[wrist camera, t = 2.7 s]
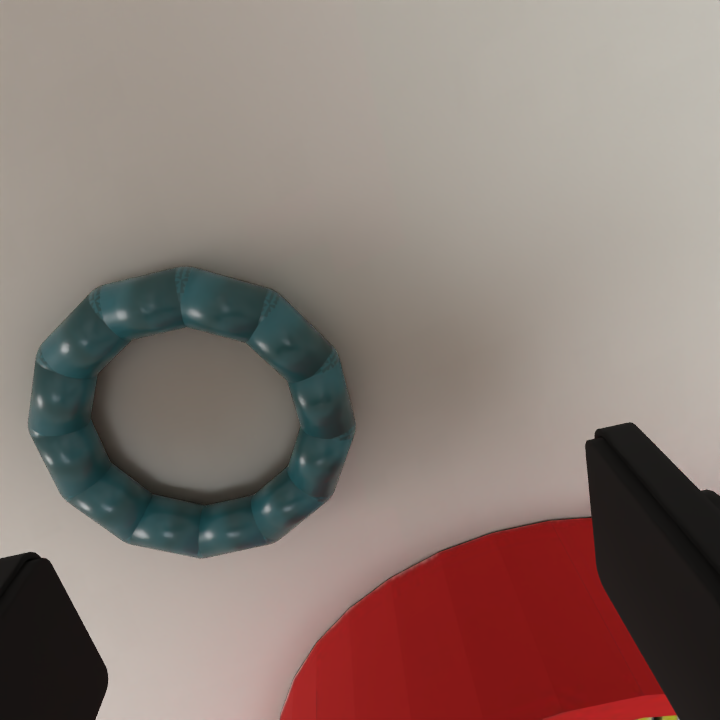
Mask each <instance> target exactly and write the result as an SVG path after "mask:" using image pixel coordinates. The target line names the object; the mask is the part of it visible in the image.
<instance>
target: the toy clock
mask: <svg viewBox="0 0 720 720" xmlns="http://www.w3.org/2000/svg"><path fill="white" fill-rule="evenodd" d="M280 720H679V718H678V716H677V715H676V713H675V711H674V709H673V708H672V706H671V704H670V702H669V701H668V699H667V697H666V695H665V694H664V692H663V690H662V689H661V687H660V685H659V683H658V682H657V680H656V678H655V676H654V675H653V673H652V671H651V670H650V668H649V666H648V664H647V663H646V661H645V659H644V657H643V656H642V654H641V652H640V650H639V649H638V647H637V645H636V644H635V642H634V640H633V638H632V637H631V635H630V633H629V631H628V630H627V628H626V626H625V624H624V623H623V621H622V619H621V618H620V616H619V614H618V612H617V611H616V609H615V607H614V605H613V604H612V602H611V600H610V598H609V597H608V595H607V593H606V592H605V590H604V588H603V586H602V584H601V581H600V578H599V575H598V572H597V567H596V558H595V547H594V536H593V526H592V518H580V519H566V520H552V521H546V522H541V523H536V524H532V525H527V526H522V527H518V528H513V529H508V530H504V531H499V532H494V533H491V534H488V535H485V536H483V537H480V538H477V539H474V540H472V541H469V542H466V543H463V544H461V545H458V546H455V547H452V548H449V549H447V550H444V551H441V552H439V553H437V554H435V555H433V556H431V557H429V558H427V559H425V560H424V561H422V562H420V563H418V564H416V565H414V566H412V567H410V568H408V569H407V570H405V571H403V572H401V573H399V574H397V575H395V576H393V577H392V578H390V579H388V580H387V581H386V582H384V583H383V584H382V585H380V586H379V587H378V588H376V589H375V590H374V591H372V592H371V593H370V594H368V595H367V596H366V597H364V598H363V599H362V600H360V601H359V602H358V603H356V604H355V605H354V606H352V607H351V608H350V609H348V610H347V612H346V613H345V614H344V615H343V616H342V617H341V618H340V619H339V620H338V621H337V622H336V623H335V624H334V625H333V626H332V627H331V628H330V629H329V630H328V631H327V632H326V633H325V635H324V636H323V637H322V638H321V639H320V640H319V641H318V642H317V643H316V645H315V646H314V648H313V649H312V651H311V652H310V654H309V655H308V657H307V658H306V660H305V662H304V663H303V665H302V666H301V668H300V669H299V671H298V672H297V674H296V675H295V677H294V679H293V682H292V684H291V687H290V690H289V692H288V695H287V698H286V700H285V703H284V706H283V708H282V711H281V715H280Z"/></svg>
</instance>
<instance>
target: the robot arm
mask: <svg viewBox="0 0 720 720" xmlns="http://www.w3.org/2000/svg"><path fill="white" fill-rule="evenodd" d="M585 450H586V461H587V472H588V483H589V493H590V504H591V515H592V526H593V536H594V547H595V558H596V567H597V572H598V575H599V578H600V581H601V584H602V586H603V588H604V590H605V592H606V593H607V595H608V597H609V598H610V600H611V602H612V604H613V605H614V607H615V609H616V611H617V612H618V614H619V616H620V618H621V619H622V621H623V623H624V624H625V626H626V628H627V630H628V631H629V633H630V635H631V637H632V638H633V640H634V642H635V644H636V645H637V647H638V649H639V650H640V652H641V654H642V656H643V657H644V659H645V661H646V663H647V664H648V666H649V668H650V670H651V671H652V673H653V675H654V676H655V678H656V680H657V682H658V683H659V685H660V687H661V689H662V690H663V692H664V694H665V695H666V697H667V699H668V701H669V702H670V704H671V706H672V708H673V709H674V711H675V713H676V715H677V716H678V718H679V720H720V496H719V495H718V494H716V493H715V492H714V491H710V490H703V491H700V490H699V489H698V488H697V487H696V486H695V485H694V484H693V483H692V482H691V481H690V480H689V479H688V478H687V477H686V476H685V475H684V474H683V473H682V472H681V471H680V470H679V469H678V467H677V466H676V465H675V464H674V463H673V462H672V461H671V460H670V459H669V458H668V457H667V456H666V455H665V454H664V453H663V452H662V451H661V450H660V449H659V448H658V447H657V446H656V445H655V444H654V443H653V442H652V441H651V440H650V439H649V438H648V437H647V436H646V435H645V434H644V433H643V432H642V431H641V430H640V429H639V428H638V427H637V426H636V425H635V424H633V423H630V422H629V423H624V424H620V425H615V426H610V427H606V428H601V429H597V430H596V431H595V439H592V440H587V441H586V444H585ZM107 686H108V673H107V669H106V666H105V664H104V662H103V660H102V658H101V656H100V655H99V653H98V651H97V649H96V647H95V645H94V643H93V641H92V639H91V638H90V636H89V634H88V632H87V630H86V628H85V626H84V624H83V622H82V621H81V619H80V617H79V615H78V613H77V611H76V609H75V607H74V605H73V604H72V602H71V600H70V598H69V596H68V594H67V592H66V590H65V588H64V586H63V585H62V583H61V581H60V579H59V577H58V575H57V573H56V571H55V569H54V568H53V566H52V564H51V563H50V561H49V560H47V559H46V558H41V557H40V556H39V555H38V554H36V553H34V552H28V553H23V554H19V555H14V556H9V557H5V558H1V559H0V720H95V719H96V716H97V714H98V711H99V709H100V706H101V703H102V701H103V698H104V696H105V693H106V690H107Z"/></svg>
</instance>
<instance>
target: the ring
mask: <svg viewBox="0 0 720 720" xmlns="http://www.w3.org/2000/svg"><path fill="white" fill-rule="evenodd" d="M185 327H189V328H192V329H196V330H200V331H204V332H207V333H211V334H215V335H219V336H222V337H226V338H230V339H234V340H238V341H241V342H245V343H247V344H248V345H249V346H250V347H251V348H252V349H253V350H254V351H255V352H257V353H258V354H259V355H260V356H261V357H262V358H263V359H264V360H265V361H266V362H267V363H269V364H270V365H271V366H272V367H273V368H274V369H275V370H276V371H277V372H278V373H280V374H281V375H282V376H283V377H284V378H285V379H286V380H287V381H288V385H289V388H290V391H291V395H292V398H293V401H294V405H295V408H296V411H297V415H298V418H299V421H300V425H301V427H300V430H299V433H298V436H297V439H296V443H295V446H294V449H293V452H292V455H291V459H290V462H289V465H288V467H286V468H285V469H284V470H283V471H282V472H280V473H279V474H278V475H277V476H276V477H275V478H273V479H272V480H271V481H270V482H269V483H267V484H266V485H265V486H264V487H263V488H262V489H260V490H259V491H258V492H257V493H256V494H254V495H251V496H246V497H242V498H237V499H233V500H228V501H224V502H219V503H215V504H210V505H206V506H205V505H200V504H196V503H191V502H187V501H182V500H177V499H173V498H168V497H164V496H159V495H154V494H152V493H151V492H149V491H148V490H147V489H145V488H144V487H143V486H141V485H140V484H139V483H137V482H136V481H135V480H133V479H132V478H131V477H129V476H128V475H127V474H125V473H124V472H123V471H122V470H120V469H119V468H118V467H116V466H115V465H114V464H112V463H111V462H110V460H109V458H108V455H107V453H106V451H105V449H104V447H103V444H102V442H101V440H100V438H99V436H98V433H97V431H96V429H95V427H94V425H93V423H92V420H91V412H92V406H93V400H94V394H95V388H96V382H97V376H98V373H99V372H100V371H101V370H102V369H103V368H104V367H105V366H106V365H107V364H108V363H109V362H110V361H111V360H112V359H113V358H114V357H115V356H116V355H117V354H118V353H119V352H120V351H121V350H122V349H123V348H124V347H125V346H126V345H127V344H128V343H129V342H130V341H131V340H133V339H138V338H142V337H146V336H151V335H155V334H159V333H164V332H168V331H172V330H177V329H181V328H185ZM355 428H356V422H355V418H354V414H353V410H352V406H351V402H350V398H349V394H348V390H347V386H346V383H345V379H344V375H343V371H342V367H341V363H340V359H339V356H338V354H337V352H336V350H335V348H334V347H333V346H332V345H331V344H330V343H329V342H328V341H327V340H326V339H325V338H324V337H323V336H322V335H321V334H320V333H319V332H318V331H317V330H316V329H315V328H314V327H313V326H312V325H311V324H309V323H308V322H307V321H306V320H305V319H304V318H303V317H302V316H301V315H300V314H299V313H298V312H297V311H296V310H295V309H294V308H293V307H292V306H291V305H290V304H289V303H288V302H287V301H286V300H285V299H284V298H283V297H282V296H281V295H279V294H278V293H277V292H275V291H273V290H271V289H268V288H265V287H262V286H258V285H255V284H251V283H248V282H244V281H240V280H237V279H233V278H230V277H226V276H223V275H219V274H216V273H212V272H209V271H205V270H201V269H198V268H194V267H188V266H187V267H186V266H184V267H177V268H173V269H169V270H165V271H160V272H156V273H152V274H148V275H143V276H139V277H135V278H131V279H126V280H122V281H118V282H113V283H109V284H105V285H102V286H100V287H98V288H96V289H94V290H93V291H92V292H91V293H90V294H89V295H88V296H87V297H86V298H85V299H84V300H83V301H82V302H81V303H80V304H79V305H78V306H77V308H76V309H75V310H74V311H73V312H72V313H71V314H70V315H69V316H68V317H67V318H66V319H65V320H64V321H63V322H62V323H61V324H60V325H59V326H58V327H57V328H56V329H55V331H54V332H53V333H52V334H51V335H50V336H49V337H48V338H47V339H46V340H45V341H44V342H43V343H42V345H41V346H40V347H39V349H38V352H37V355H36V361H35V369H34V377H33V385H32V393H31V401H30V410H29V418H28V429H29V432H30V435H31V437H32V439H33V441H34V443H35V445H36V447H37V449H38V451H39V453H40V455H41V457H42V459H43V461H44V463H45V465H46V467H47V468H48V470H49V472H50V474H51V476H52V478H53V480H54V482H55V484H56V486H57V488H58V490H59V492H60V494H61V495H62V497H63V498H64V499H65V500H66V501H67V502H69V503H70V504H71V505H73V506H74V507H76V508H77V509H78V510H80V511H81V512H83V513H84V514H85V515H87V516H88V517H90V518H91V519H93V520H94V521H95V522H97V523H98V524H100V525H101V526H102V527H104V528H105V529H107V530H108V531H109V532H111V533H112V534H114V535H115V536H116V537H118V538H119V539H121V540H122V541H124V542H126V543H128V544H131V545H136V546H141V547H146V548H151V549H156V550H161V551H166V552H171V553H176V554H180V555H185V556H190V557H195V558H208V557H213V556H218V555H222V554H227V553H231V552H236V551H241V550H245V549H250V548H254V547H259V546H264V545H268V544H272V543H275V542H276V541H278V540H279V539H281V538H282V537H283V536H285V535H286V534H287V533H288V532H289V531H291V530H292V529H293V528H294V527H296V526H297V525H298V524H299V523H301V522H302V521H303V520H304V519H305V518H307V517H308V516H309V515H310V514H312V513H313V512H314V511H315V510H317V509H318V508H319V507H320V506H322V505H323V504H324V503H325V502H326V501H327V500H329V498H330V497H331V496H332V494H333V493H334V490H335V488H336V485H337V482H338V479H339V476H340V474H341V471H342V468H343V465H344V462H345V459H346V456H347V454H348V451H349V448H350V445H351V442H352V439H353V436H354V433H355Z"/></svg>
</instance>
